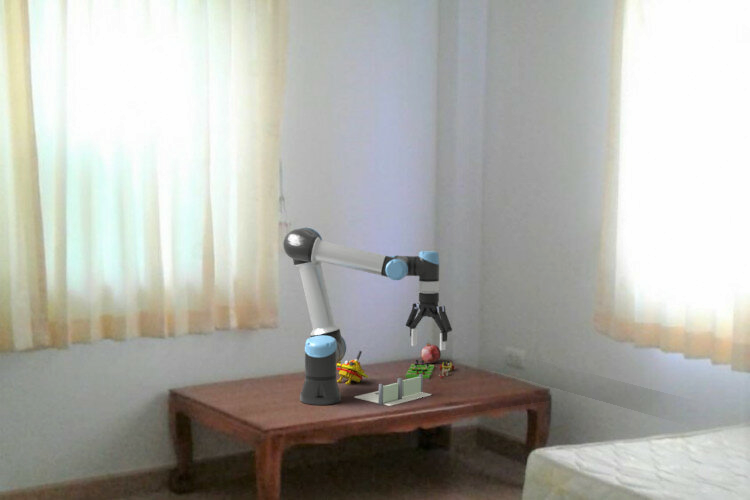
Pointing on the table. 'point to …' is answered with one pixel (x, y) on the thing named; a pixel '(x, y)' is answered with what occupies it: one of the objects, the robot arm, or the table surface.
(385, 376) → the table surface
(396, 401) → the card
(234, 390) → the table surface
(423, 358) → the fruit
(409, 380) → the fence panel
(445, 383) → the table surface
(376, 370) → the table surface
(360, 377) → the toy
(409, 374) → the toy garden set
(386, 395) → the fence fixed
